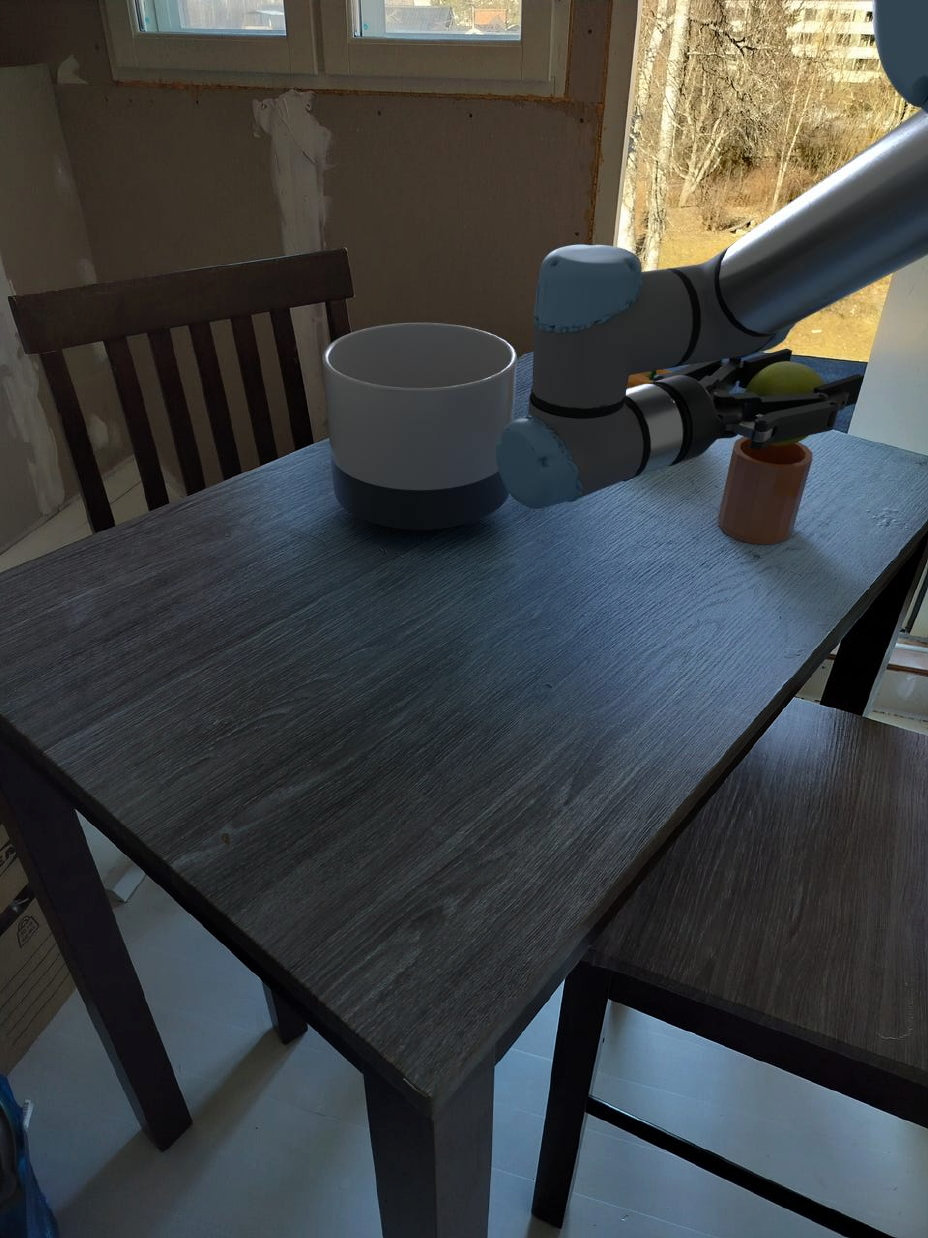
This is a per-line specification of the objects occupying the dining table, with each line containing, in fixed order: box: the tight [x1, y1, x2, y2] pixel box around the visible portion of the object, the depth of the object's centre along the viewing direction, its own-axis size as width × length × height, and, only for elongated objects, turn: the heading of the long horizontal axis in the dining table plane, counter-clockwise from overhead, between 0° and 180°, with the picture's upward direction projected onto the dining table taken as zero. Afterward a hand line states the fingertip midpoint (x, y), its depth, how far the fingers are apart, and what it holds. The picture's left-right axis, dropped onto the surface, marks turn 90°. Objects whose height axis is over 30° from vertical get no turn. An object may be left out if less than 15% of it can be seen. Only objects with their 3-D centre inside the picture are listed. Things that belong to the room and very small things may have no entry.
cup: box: [717, 436, 814, 545], centre depth 90 cm, size 8×8×9 cm
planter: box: [321, 322, 518, 531], centre depth 90 cm, size 19×19×18 cm
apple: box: [744, 361, 826, 446], centre depth 85 cm, size 8×9×8 cm
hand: (820, 374), depth 85 cm, fingers closed on apple, 8 cm apart
